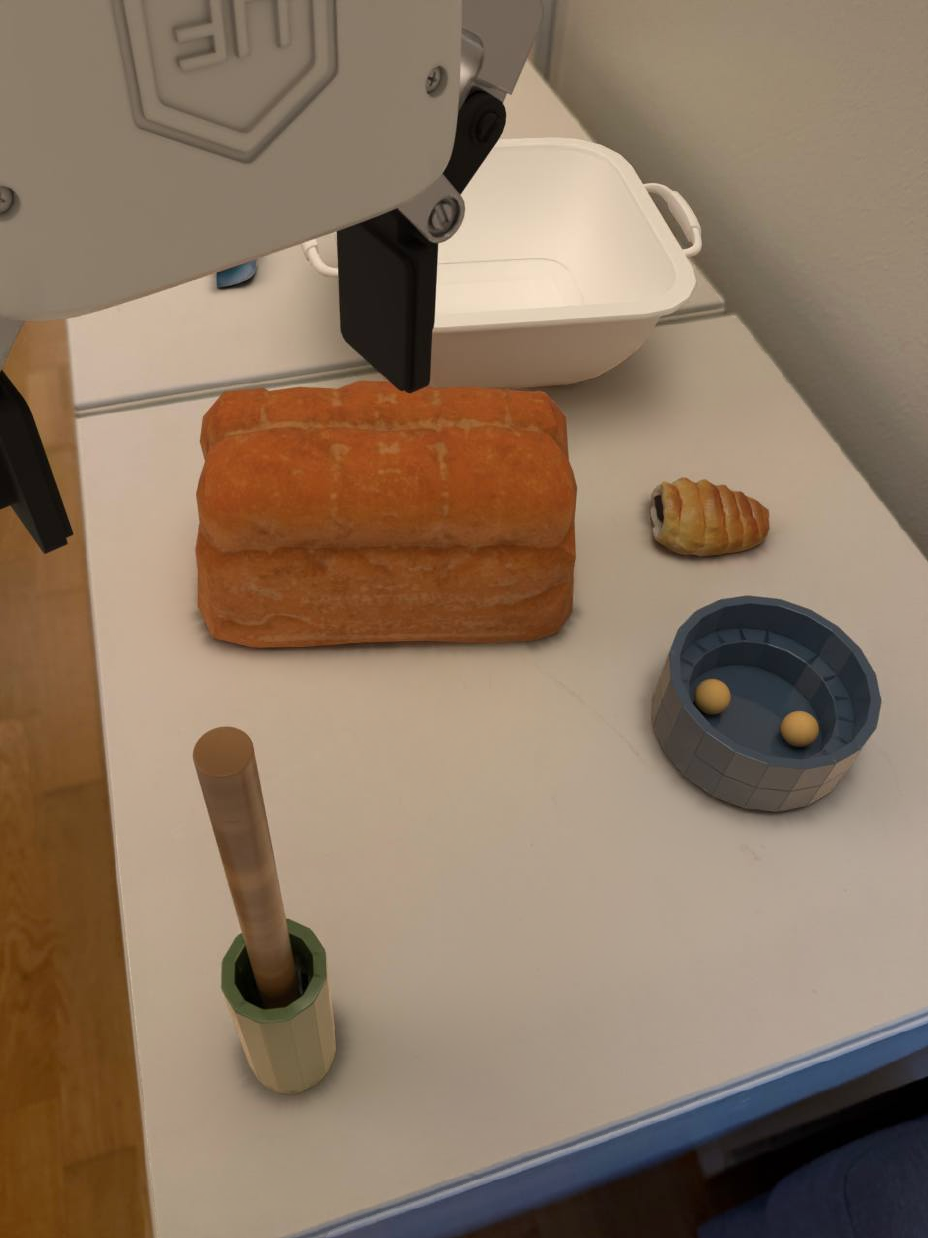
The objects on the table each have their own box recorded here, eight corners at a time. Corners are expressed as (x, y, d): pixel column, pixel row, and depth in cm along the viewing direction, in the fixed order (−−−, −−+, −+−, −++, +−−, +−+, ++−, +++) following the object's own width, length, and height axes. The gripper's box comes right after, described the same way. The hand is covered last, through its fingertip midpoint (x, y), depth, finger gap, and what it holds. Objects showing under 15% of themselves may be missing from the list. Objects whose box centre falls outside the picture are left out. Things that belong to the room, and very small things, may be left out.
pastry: (756, 503, 83) (770, 469, 80) (772, 564, 79) (788, 531, 76) (643, 498, 82) (653, 464, 79) (654, 560, 78) (665, 526, 75)
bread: (577, 647, 72) (615, 495, 60) (197, 656, 70) (159, 499, 58) (552, 508, 81) (580, 352, 69) (213, 512, 78) (183, 350, 66)
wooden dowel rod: (295, 1074, 53) (228, 794, 29) (265, 1059, 53) (174, 771, 30) (317, 1031, 54) (269, 731, 31) (288, 1017, 54) (218, 710, 31)
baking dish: (619, 249, 106) (644, 128, 96) (713, 426, 88) (755, 301, 79) (292, 267, 100) (282, 139, 90) (325, 461, 83) (317, 330, 73)
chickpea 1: (720, 726, 68) (730, 706, 66) (686, 713, 68) (695, 693, 67) (728, 699, 69) (738, 679, 68) (695, 687, 70) (703, 667, 68)
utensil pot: (310, 1109, 52) (294, 1040, 43) (232, 1071, 53) (200, 995, 44) (350, 1025, 55) (344, 943, 45) (276, 990, 56) (255, 903, 46)
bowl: (827, 847, 63) (863, 801, 59) (626, 768, 66) (644, 718, 61) (860, 689, 71) (894, 637, 67) (679, 624, 74) (699, 570, 69)
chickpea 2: (808, 759, 67) (820, 739, 65) (772, 745, 67) (783, 726, 65) (814, 731, 68) (826, 711, 66) (779, 718, 69) (791, 698, 67)
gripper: (-1117, -913, 6) (-79, 708, 19) (786, -652, 13) (584, 388, 27) (-1029, -859, 9) (-201, 482, 23) (442, -676, 17) (415, 255, 30)
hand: (222, 431), depth 25 cm, fingers open, 9 cm apart
